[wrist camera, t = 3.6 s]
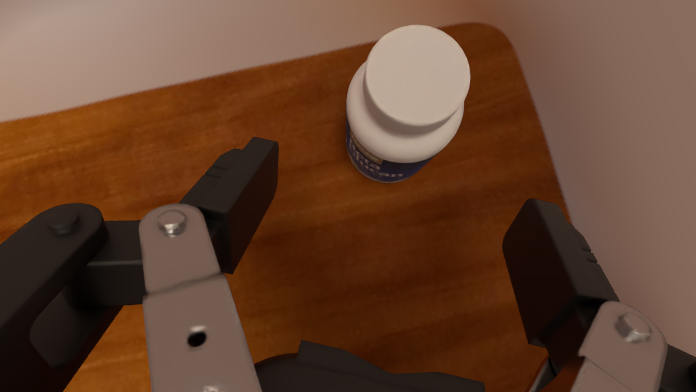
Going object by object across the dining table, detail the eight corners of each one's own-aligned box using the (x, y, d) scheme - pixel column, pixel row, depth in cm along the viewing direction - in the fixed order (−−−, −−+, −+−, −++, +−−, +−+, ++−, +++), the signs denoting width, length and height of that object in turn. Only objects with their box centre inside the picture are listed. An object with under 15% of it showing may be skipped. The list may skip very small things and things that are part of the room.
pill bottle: (334, 169, 22) (324, 115, 12) (361, 94, 23) (371, -13, 13) (414, 196, 22) (466, 162, 12) (438, 119, 23) (507, 30, 13)
